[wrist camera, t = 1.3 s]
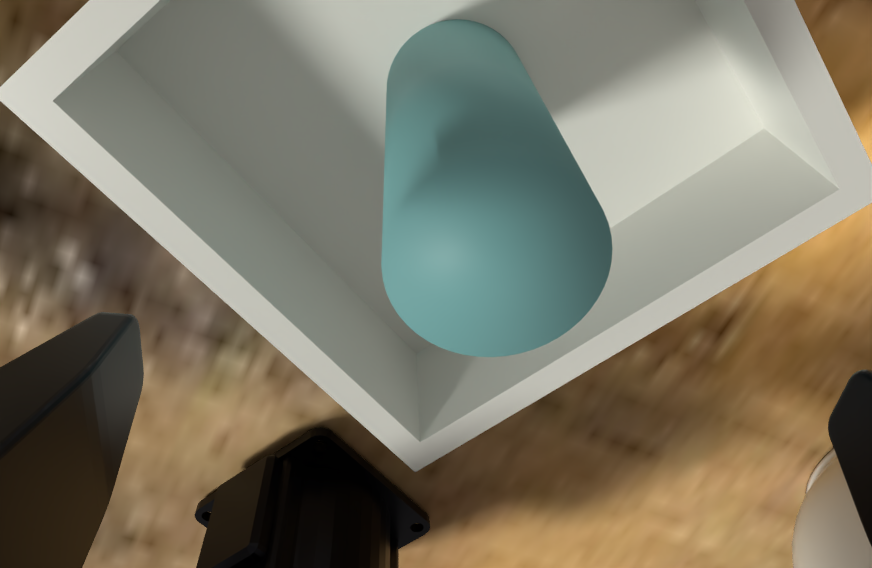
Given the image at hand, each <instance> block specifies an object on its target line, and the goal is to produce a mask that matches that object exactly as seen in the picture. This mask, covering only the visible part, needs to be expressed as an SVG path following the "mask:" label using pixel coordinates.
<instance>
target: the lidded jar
mask: <svg viewBox="0 0 872 568" xmlns="http://www.w3.org/2000/svg"><path fill="white" fill-rule="evenodd" d="M792 559H793V568H872V547H871V545H870V542H869V540H868V538H867V535H866V533H865V530H864V528H863V525H862V523H861V520H860V517H859V515H858V512H857V509H856V507H855V504H854V501H853V499H852V496H851V493H850V490H849V488H848V485H847V482H846V480H845V477H844V474H843V472H842V469H841V466H840V464H839V461H838V458H837V455H836V453H835V450H834V448H833V449H832V450H831V451H830V452H829V453H828V454H827V455H826V456H825V457H824V458H823V459H822V460H821V461H820V462H819V464H818V465H817V466H816V468H815V469H814V471H813V472H812V474H811V476H810V478H809V481H808V483H807V488H806V495H805V497H804V500H803V502H802V504H801V507H800V509H799V512H798V514H797V517H796V521H795V526H794V532H793V539H792Z"/></svg>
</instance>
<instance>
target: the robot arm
mask: <svg viewBox="0 0 872 568" xmlns="http://www.w3.org/2000/svg"><path fill="white" fill-rule="evenodd" d="M143 375H144V372H143V360H142V350H141V339H140V329H139V323H138V321H137V319H136V318H135V316H133V315H131V314H119V313H106V312H101V313H97V314H95V315H93V316H91V317H89V318H88V319H86V320H84V321H82V322H80V323H79V324H77V325H75V326H73V327H72V328H70V329H68V330H66V331H64V332H63V333H61V334H59V335H57V336H55V337H54V338H52V339H50V340H48V341H47V342H45V343H43V344H41V345H39V346H38V347H36V348H34V349H32V350H30V351H29V352H27V353H25V354H23V355H21V356H20V357H18V358H16V359H14V360H13V361H11V362H9V363H7V364H5V365H4V366H2V367H0V568H82V566H83V564H84V562H85V559H86V557H87V555H88V552H89V550H90V548H91V545H92V543H93V541H94V538H95V536H96V534H97V531H98V529H99V526H100V524H101V522H102V519H103V517H104V514H105V512H106V509H107V506H108V504H109V501H110V498H111V495H112V491H113V488H114V485H115V482H116V478H117V475H118V471H119V468H120V464H121V461H122V457H123V454H124V450H125V447H126V443H127V440H128V436H129V433H130V429H131V426H132V422H133V419H134V415H135V412H136V408H137V405H138V401H139V398H140V394H141V391H142V385H143ZM828 430H829V436H830V439H831V442H832V445H833V447H834V450H835V453H836V455H837V458H838V461H839V464H840V466H841V469H842V472H843V474H844V477H845V480H846V482H847V485H848V488H849V490H850V493H851V496H852V499H853V501H854V504H855V507H856V509H857V512H858V515H859V517H860V520H861V523H862V525H863V528H864V530H865V533H866V535H867V538H868V540H869V542H870V545H871V547H872V370H860V371H857V372H856V373H854V374H853V375H852V376H851V378H850V379H849V381H848V383H847V385H846V387H845V389H844V391H843V392H842V394H841V396H840V398H839V400H838V402H837V404H836V406H835V408H834V410H833V412H832V414H831V416H830V418H829V423H828ZM318 440H320V441H324V442H325V443H318V442H316V441H318ZM210 512H211V513H210ZM195 518H196V520H197V521H198V522H199V523H201V524H202V525H204V526H205V527H206V528H207V530H206V534H205V537H204V541H203V545H202V548H201V552H200V556H199V560H198V563H197V567H196V568H398V549H400V548H401V547H403V546H405V545H407V544H409V543H410V542H412V541H414V540H416V539H418V538H419V537H421V536H423V535H425V534H426V533H427V532H428V531H429V529H430V520H429V516H428V514H427V513H426V512H425V511H423V510H422V509H421V508H420V507H419V506H418V505H416V504H415V503H414V502H413V501H412V500H411V499H410V498H408V497H407V496H406V495H405V494H404V493H403V492H401V491H400V490H399V489H398V488H397V487H396V486H395V485H393V484H392V483H391V482H390V481H389V480H388V479H386V478H385V477H384V476H383V475H382V474H381V473H379V472H378V471H377V470H376V469H375V468H374V467H373V466H371V465H370V464H369V463H368V462H367V461H366V460H364V459H363V458H362V457H361V456H360V455H359V454H358V453H356V452H355V451H354V450H353V449H352V448H351V447H349V446H348V445H347V444H346V443H345V442H344V441H343V440H341V439H340V438H339V437H338V436H337V435H336V434H334V433H333V432H332V431H331V430H329V429H327V428H323V427H319V428H314V429H312V430H310V431H309V432H307V433H306V434H304V435H302V436H301V437H299V438H298V439H296V440H295V441H293V442H292V443H290V444H288V445H287V446H285V447H284V448H282V449H281V450H279V451H278V452H276V453H274V454H273V455H269V456H265V457H264V458H262V459H261V460H259V461H257V462H256V463H254V464H253V465H251V466H250V467H248V468H247V469H245V470H244V471H242V472H240V473H239V474H237V475H236V476H234V477H233V478H231V479H230V480H228V481H226V482H225V483H223V484H222V485H220V486H219V487H218V489H217V491H215V492H214V493H212V494H211V495H209V496H208V497H206V498H205V499H203V500H201V501H200V502H199V503H198V506H197V509H196V513H195ZM415 523H419V524H415Z"/></svg>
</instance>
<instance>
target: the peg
mask: <svg viewBox="0 0 872 568" xmlns="http://www.w3.org/2000/svg"><path fill="white" fill-rule="evenodd" d="M611 262H612V236H611V232H610V227H609V223H608V221H607V218H606V216H605V213H604V211H603V209H602V207H601V205H600V203H599V202H598V200H597V198H596V196H595V194H594V193H593V191H592V189H591V187H590V185H589V183H588V182H587V180H586V178H585V176H584V174H583V173H582V171H581V169H580V167H579V165H578V164H577V162H576V160H575V158H574V156H573V154H572V153H571V151H570V149H569V147H568V145H567V144H566V142H565V140H564V138H563V136H562V135H561V133H560V131H559V129H558V127H557V125H556V124H555V122H554V120H553V118H552V116H551V115H550V113H549V111H548V109H547V107H546V106H545V104H544V102H543V100H542V98H541V96H540V95H539V93H538V91H537V89H536V87H535V86H534V84H533V82H532V80H531V78H530V77H529V75H528V73H527V71H526V69H525V67H524V66H523V64H522V62H521V60H520V58H519V57H518V55H517V53H516V51H515V50H514V48H513V47H512V46H511V44H510V43H509V42H508V41H507V40H506V39H505V38H504V37H503V36H502V35H501V34H500V33H498V32H497V31H495V30H494V29H492V28H490V27H488V26H486V25H484V24H481V23H478V22H475V21H470V20H462V19H454V20H445V21H441V22H437V23H434V24H431V25H429V26H427V27H425V28H423V29H421V30H420V31H418V32H417V33H415V34H414V35H413V36H412V37H410V38H409V39H408V40H407V41H406V42H405V43H404V45H403V46H402V47H401V48H400V50H399V51H398V53H397V54H396V56H395V58H394V60H393V62H392V64H391V67H390V70H389V74H388V79H387V92H386V126H385V159H384V193H383V226H382V260H381V269H382V277H383V282H384V286H385V290H386V293H387V295H388V297H389V300H390V302H391V304H392V306H393V307H394V309H395V311H396V312H397V314H398V315H399V316H400V318H401V319H402V320H403V321H404V322H405V323H406V325H407V326H409V327H410V328H411V329H412V330H413V331H414V332H415V333H416V334H418V335H419V336H421V337H422V338H424V339H425V340H427V341H428V342H430V343H432V344H434V345H436V346H438V347H440V348H443V349H446V350H448V351H451V352H455V353H459V354H463V355H469V356H476V357H501V356H509V355H515V354H520V353H523V352H527V351H530V350H534V349H536V348H538V347H541V346H543V345H546V344H548V343H550V342H551V341H553V340H555V339H557V338H559V337H560V336H562V335H563V334H565V333H566V332H567V331H569V330H570V329H571V328H573V327H574V326H575V325H576V324H577V323H578V322H580V321H581V320H582V318H583V317H584V316H585V315H586V314H587V313H588V312H589V311H590V309H591V308H592V307H593V305H594V304H595V302H596V301H597V300H598V298H599V296H600V294H601V292H602V290H603V288H604V286H605V284H606V281H607V278H608V275H609V271H610V267H611Z"/></svg>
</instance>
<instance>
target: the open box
mask: <svg viewBox="0 0 872 568" xmlns="http://www.w3.org/2000/svg"><path fill="white" fill-rule="evenodd" d="M454 19H462V20H470V21H475V22H478V23H481V24H484V25H486V26H488V27H490V28H492V29H494V30H495V31H497V32H498V33H500V34H501V35H502V36H503V37H504V38H505V39H506V40H507V41H508V42H509V43H510V44H511V46H512V47H513V48H514V50H515V51H516V53H517V55H518V57H519V58H520V60H521V62H522V64H523V66H524V67H525V69H526V71H527V73H528V75H529V77H530V78H531V80H532V82H533V84H534V86H535V87H536V89H537V91H538V93H539V95H540V96H541V98H542V100H543V102H544V104H545V106H546V107H547V109H548V111H549V113H550V115H551V116H552V118H553V120H554V122H555V124H556V125H557V127H558V129H559V131H560V133H561V135H562V136H563V138H564V140H565V142H566V144H567V145H568V147H569V149H570V151H571V153H572V154H573V156H574V158H575V160H576V162H577V164H578V165H579V167H580V169H581V171H582V173H583V174H584V176H585V178H586V180H587V182H588V183H589V185H590V187H591V189H592V191H593V193H594V194H595V196H596V198H597V200H598V202H599V203H600V205H601V207H602V209H603V211H604V213H605V216H606V218H607V221H608V223H609V227H610V232H611V236H612V262H611V267H610V271H609V275H608V278H607V281H606V284H605V286H604V288H603V290H602V292H601V294H600V296H599V298H598V300H597V301H596V302H595V304H594V305H593V307H592V308H591V309H590V311H589V312H588V313H587V314H586V315H585V316H584V317H583V318H582V320H581V321H580V322H578V323H577V324H576V325H575V326H574V327H573V328H571V329H570V330H569V331H567V332H566V333H565V334H563V335H562V336H560V337H559V338H557V339H555V340H553V341H551V342H550V343H548V344H546V345H543V346H541V347H538V348H536V349H534V350H530V351H527V352H523V353H520V354H515V355H509V356H501V357H476V356H469V355H463V354H459V353H455V352H451V351H448V350H446V349H443V348H440V347H438V346H436V345H434V344H432V343H430V342H428V341H427V340H425V339H424V338H422V337H421V336H419V335H418V334H416V333H415V332H414V331H413V330H412V329H411V328H410V327H409V326H407V325H406V323H405V322H404V321H403V320H402V319H401V318H400V316H399V315H398V314H397V312H396V311H395V309H394V307H393V306H392V304H391V302H390V300H389V297H388V295H387V293H386V290H385V286H384V282H383V277H382V269H381V260H382V226H383V193H384V159H385V126H386V92H387V79H388V74H389V70H390V67H391V64H392V62H393V60H394V58H395V56H396V54H397V53H398V51H399V50H400V48H401V47H402V46H403V45H404V43H405V42H406V41H407V40H408V39H409V38H410V37H412V36H413V35H414V34H415V33H417V32H418V31H420V30H421V29H423V28H425V27H427V26H429V25H431V24H434V23H437V22H441V21H445V20H454ZM0 101H1V102H2V103H3V104H4V105H6V106H7V107H8V108H9V109H10V110H11V111H12V112H13V113H14V114H16V115H17V116H18V117H19V118H20V119H21V120H22V121H23V122H25V123H26V124H27V125H28V126H29V127H30V128H31V129H32V130H33V131H35V132H36V133H37V134H38V135H39V136H40V137H41V138H42V139H44V140H45V141H46V142H47V143H48V144H49V145H50V146H51V147H52V148H54V149H55V150H56V151H57V152H58V153H59V154H60V155H61V156H63V157H64V158H65V159H66V160H67V161H68V162H69V163H70V164H71V165H73V166H74V167H75V168H76V169H77V170H78V171H79V172H80V173H82V174H83V175H84V176H85V177H86V178H87V179H88V180H89V181H90V182H92V183H93V184H94V185H95V186H96V187H97V188H98V189H99V190H100V191H102V192H103V193H104V194H105V195H106V196H107V197H108V198H109V199H111V200H112V201H113V202H114V203H115V204H116V205H117V206H118V207H119V208H121V209H122V210H123V211H124V212H125V213H126V214H127V215H128V216H130V217H131V218H132V219H133V220H134V221H135V222H136V223H137V224H138V225H140V226H141V227H142V228H143V229H144V230H145V231H146V232H147V233H149V234H150V235H151V236H152V237H153V238H154V239H155V240H156V241H157V242H159V243H160V244H161V245H162V246H163V247H164V248H165V249H166V250H168V251H169V252H170V253H171V254H172V255H173V256H174V257H175V258H176V259H178V260H179V261H180V262H181V263H182V264H183V265H184V266H185V267H187V268H188V269H189V270H190V271H191V272H192V273H193V274H194V275H195V276H197V277H198V278H199V279H200V280H201V281H202V282H203V283H204V284H205V285H207V286H208V287H209V288H210V289H211V290H212V291H213V292H214V293H216V294H217V295H218V296H219V297H220V298H221V299H222V300H223V301H224V302H226V303H227V304H228V305H229V306H230V307H231V308H232V309H233V310H235V311H236V312H237V313H238V314H239V315H240V316H241V317H242V318H243V319H245V320H246V321H247V322H248V323H249V324H250V325H251V326H252V327H254V328H255V329H256V330H257V331H258V332H259V333H260V334H261V335H262V336H264V337H265V338H266V339H267V340H268V341H269V342H270V343H271V344H273V345H274V346H275V347H276V348H277V349H278V350H279V351H280V352H281V353H283V354H284V355H285V356H286V357H287V358H288V359H289V360H290V361H292V362H293V363H294V364H295V365H296V366H297V367H298V368H299V369H300V370H302V371H303V372H304V373H305V374H306V375H307V376H308V377H309V378H310V379H312V380H313V381H314V382H315V383H316V384H317V385H318V386H319V387H321V388H322V389H323V390H324V391H325V392H326V393H327V394H328V395H329V396H331V397H332V398H333V399H334V400H335V401H336V402H337V403H338V404H340V405H341V406H342V407H343V408H344V409H345V410H346V411H347V412H348V413H350V414H351V415H352V416H353V417H354V418H355V419H356V420H357V421H359V422H360V423H361V424H362V425H363V426H364V427H365V428H366V429H367V430H369V431H370V432H371V433H372V434H373V435H374V436H375V437H376V438H378V439H379V440H380V441H381V442H382V443H383V444H384V445H385V446H386V447H388V448H389V449H390V450H391V451H392V452H393V453H394V454H395V455H396V456H398V457H399V458H400V459H401V460H402V461H403V462H404V463H405V464H407V465H408V466H409V467H410V468H411V469H412V470H413V471H414V472H417V471H418V470H420V469H422V468H423V467H425V466H427V465H428V464H430V463H432V462H434V461H435V460H437V459H439V458H440V457H442V456H444V455H445V454H447V453H449V452H450V451H452V450H454V449H456V448H457V447H459V446H461V445H462V444H464V443H466V442H467V441H469V440H471V439H472V438H474V437H476V436H478V435H479V434H481V433H483V432H484V431H486V430H488V429H489V428H491V427H493V426H494V425H496V424H498V423H500V422H501V421H503V420H505V419H506V418H508V417H510V416H511V415H513V414H515V413H516V412H518V411H520V410H522V409H523V408H525V407H527V406H528V405H530V404H532V403H533V402H535V401H537V400H538V399H540V398H542V397H544V396H545V395H547V394H549V393H550V392H552V391H554V390H555V389H557V388H559V387H560V386H562V385H564V384H566V383H567V382H569V381H571V380H572V379H574V378H576V377H577V376H579V375H581V374H582V373H584V372H586V371H588V370H589V369H591V368H593V367H594V366H596V365H598V364H599V363H601V362H603V361H604V360H606V359H608V358H610V357H611V356H613V355H615V354H616V353H618V352H620V351H621V350H623V349H625V348H626V347H628V346H630V345H632V344H633V343H635V342H637V341H638V340H640V339H642V338H643V337H645V336H647V335H648V334H650V333H652V332H654V331H655V330H657V329H659V328H660V327H662V326H664V325H665V324H667V323H669V322H670V321H672V320H674V319H676V318H677V317H679V316H681V315H682V314H684V313H686V312H687V311H689V310H691V309H693V308H694V307H696V306H698V305H699V304H701V303H703V302H704V301H706V300H708V299H709V298H711V297H713V296H715V295H716V294H718V293H720V292H721V291H723V290H725V289H726V288H728V287H730V286H731V285H733V284H735V283H737V282H738V281H740V280H742V279H743V278H745V277H747V276H748V275H750V274H752V273H753V272H755V271H757V270H759V269H760V268H762V267H764V266H765V265H767V264H769V263H770V262H772V261H774V260H775V259H777V258H779V257H781V256H782V255H784V254H786V253H787V252H789V251H791V250H792V249H794V248H796V247H797V246H799V245H801V244H803V243H804V242H806V241H808V240H809V239H811V238H813V237H814V236H816V235H818V234H819V233H821V232H823V231H825V230H826V229H828V228H830V227H831V226H833V225H835V224H836V223H838V222H840V221H841V220H843V219H845V218H847V217H848V216H850V215H852V214H853V213H855V212H857V211H858V210H860V209H862V208H863V207H865V206H867V205H869V204H870V203H872V164H871V162H870V160H869V158H868V155H867V153H866V151H865V149H864V147H863V145H862V143H861V141H860V138H859V136H858V134H857V132H856V130H855V128H854V126H853V124H852V121H851V119H850V117H849V115H848V113H847V111H846V109H845V107H844V105H843V102H842V100H841V98H840V96H839V94H838V92H837V90H836V88H835V85H834V83H833V81H832V79H831V77H830V75H829V73H828V71H827V68H826V66H825V64H824V62H823V60H822V58H821V56H820V54H819V52H818V49H817V47H816V45H815V43H814V41H813V39H812V37H811V35H810V32H809V30H808V28H807V26H806V24H805V22H804V20H803V18H802V16H801V13H800V11H799V9H798V7H797V5H796V3H795V1H794V0H89V1H88V2H87V3H86V4H85V5H84V6H83V7H82V8H81V9H80V10H79V11H78V12H77V13H76V14H75V15H74V16H73V17H72V18H71V19H70V20H69V21H68V22H67V23H66V24H65V25H63V26H62V27H61V28H60V29H59V30H58V31H57V32H56V33H55V34H54V35H53V36H52V37H51V38H50V39H49V40H48V41H47V42H46V43H45V44H44V45H43V46H42V47H41V48H40V49H39V50H38V51H37V52H36V53H35V54H34V55H33V56H32V57H31V58H30V59H29V60H28V61H27V62H25V63H24V64H23V65H22V66H21V67H20V68H19V69H18V70H17V71H16V72H15V73H14V74H13V75H12V76H11V77H10V78H9V79H8V80H7V81H6V82H5V83H4V84H3V85H2V86H1V87H0Z"/></svg>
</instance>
